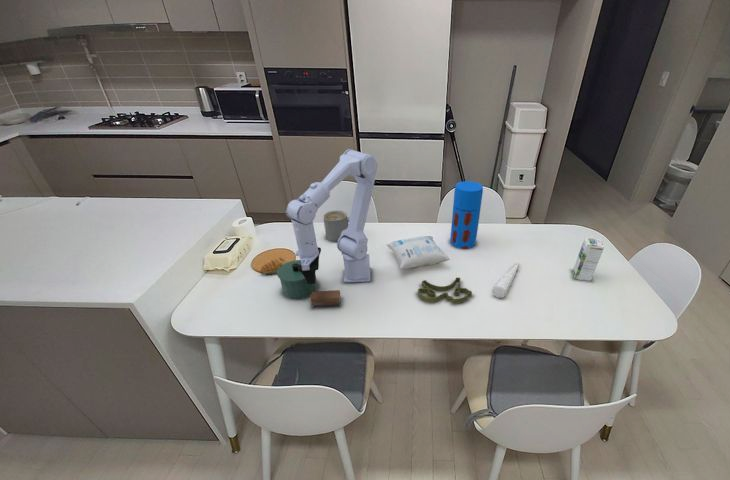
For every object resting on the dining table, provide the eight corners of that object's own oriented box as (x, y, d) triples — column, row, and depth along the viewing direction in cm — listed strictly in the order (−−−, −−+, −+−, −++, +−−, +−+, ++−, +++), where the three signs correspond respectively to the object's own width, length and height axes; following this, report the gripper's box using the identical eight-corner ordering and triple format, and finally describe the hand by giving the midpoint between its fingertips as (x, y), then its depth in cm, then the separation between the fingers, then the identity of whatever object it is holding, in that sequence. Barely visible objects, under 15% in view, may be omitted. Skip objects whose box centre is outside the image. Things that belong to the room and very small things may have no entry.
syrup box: (572, 270, 133) (583, 237, 124) (588, 272, 132) (601, 238, 123) (574, 279, 128) (586, 245, 120) (591, 281, 127) (605, 247, 119)
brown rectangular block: (340, 298, 119) (339, 289, 117) (340, 306, 115) (338, 297, 113) (313, 300, 118) (312, 291, 116) (312, 308, 115) (310, 299, 112)
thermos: (477, 249, 145) (485, 191, 130) (451, 249, 145) (456, 191, 130) (473, 236, 154) (480, 181, 139) (449, 236, 154) (454, 180, 139)
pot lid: (317, 261, 125) (316, 254, 123) (313, 282, 115) (311, 274, 113) (281, 263, 124) (279, 255, 122) (273, 284, 114) (271, 276, 112)
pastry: (265, 278, 128) (263, 269, 126) (259, 270, 132) (256, 261, 130) (290, 269, 133) (287, 260, 130) (283, 261, 137) (280, 253, 135)
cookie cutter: (464, 281, 127) (465, 276, 126) (473, 302, 118) (474, 297, 116) (415, 285, 125) (415, 280, 124) (421, 306, 116) (421, 302, 114)
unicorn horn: (527, 268, 134) (530, 257, 131) (503, 300, 118) (505, 289, 116) (515, 264, 136) (517, 253, 133) (490, 295, 121) (492, 284, 118)
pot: (319, 278, 128) (316, 261, 124) (315, 298, 119) (311, 280, 115) (287, 279, 127) (282, 262, 123) (280, 299, 118) (275, 282, 114)
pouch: (433, 228, 143) (386, 233, 138) (451, 252, 129) (400, 259, 124) (431, 244, 148) (386, 250, 143) (449, 269, 134) (399, 277, 129)
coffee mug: (324, 241, 149) (321, 220, 143) (328, 230, 157) (325, 210, 151) (356, 241, 150) (353, 220, 144) (358, 230, 158) (356, 210, 152)
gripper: (296, 228, 110) (304, 264, 118) (287, 252, 99) (296, 290, 107) (319, 227, 111) (325, 263, 119) (313, 251, 99) (320, 289, 107)
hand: (313, 276), depth 113 cm, fingers open, 7 cm apart
